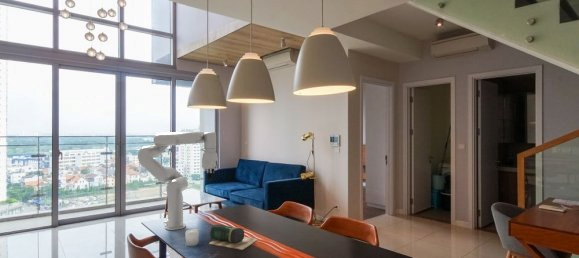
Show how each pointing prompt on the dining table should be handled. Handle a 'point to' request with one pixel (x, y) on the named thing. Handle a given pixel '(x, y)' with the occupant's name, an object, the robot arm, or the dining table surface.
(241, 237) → the coffee jar
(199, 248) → the dining table surface
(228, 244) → the beige striped cloth
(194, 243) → the white rounded block
